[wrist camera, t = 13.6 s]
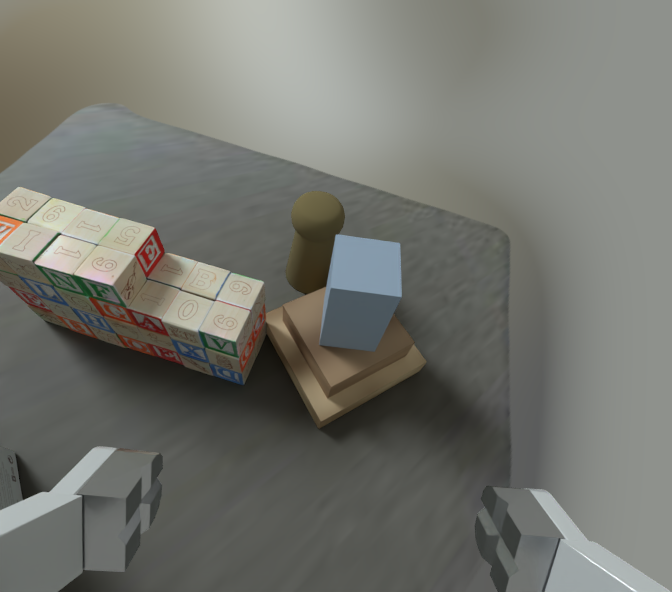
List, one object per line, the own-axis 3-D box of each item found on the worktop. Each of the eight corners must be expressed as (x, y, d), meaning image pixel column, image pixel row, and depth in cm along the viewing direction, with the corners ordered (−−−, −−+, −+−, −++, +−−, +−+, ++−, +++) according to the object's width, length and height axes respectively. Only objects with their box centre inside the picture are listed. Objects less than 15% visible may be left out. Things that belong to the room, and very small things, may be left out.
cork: (316, 303, 42) (326, 237, 33) (274, 275, 44) (273, 204, 35) (346, 271, 46) (363, 202, 36) (307, 245, 47) (313, 172, 38)
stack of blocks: (268, 332, 40) (265, 259, 30) (244, 387, 36) (231, 325, 26) (81, 273, 41) (16, 183, 31) (40, 321, 38) (-49, 237, 27)
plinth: (263, 326, 40) (260, 298, 36) (357, 286, 45) (366, 256, 40) (318, 429, 35) (324, 411, 30) (418, 371, 39) (437, 348, 35)
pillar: (319, 345, 34) (330, 287, 26) (324, 298, 36) (335, 234, 29) (374, 351, 34) (401, 297, 27) (375, 304, 37) (400, 243, 29)
